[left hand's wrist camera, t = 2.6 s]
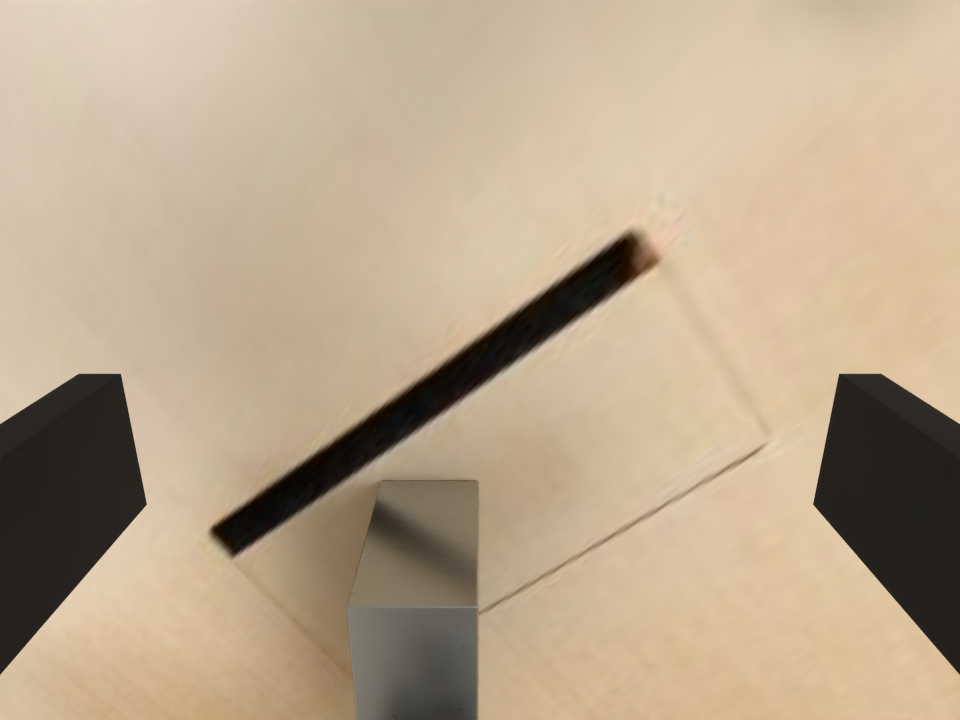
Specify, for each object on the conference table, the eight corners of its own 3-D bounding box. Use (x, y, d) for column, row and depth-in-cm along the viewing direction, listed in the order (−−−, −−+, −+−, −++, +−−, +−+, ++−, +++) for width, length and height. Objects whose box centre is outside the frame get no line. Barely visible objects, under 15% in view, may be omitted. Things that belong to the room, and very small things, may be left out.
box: (381, 480, 41) (346, 606, 30) (478, 480, 41) (477, 606, 30) (395, 736, 48) (371, 911, 38) (478, 737, 48) (478, 911, 38)
